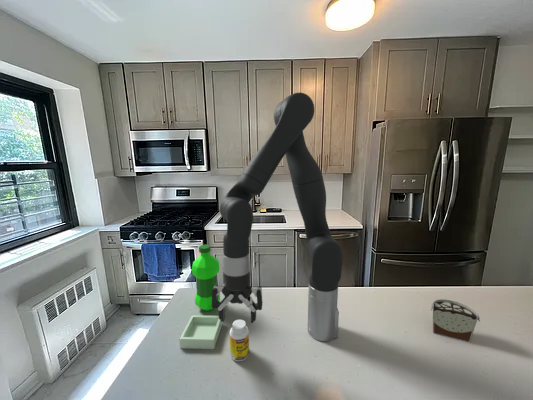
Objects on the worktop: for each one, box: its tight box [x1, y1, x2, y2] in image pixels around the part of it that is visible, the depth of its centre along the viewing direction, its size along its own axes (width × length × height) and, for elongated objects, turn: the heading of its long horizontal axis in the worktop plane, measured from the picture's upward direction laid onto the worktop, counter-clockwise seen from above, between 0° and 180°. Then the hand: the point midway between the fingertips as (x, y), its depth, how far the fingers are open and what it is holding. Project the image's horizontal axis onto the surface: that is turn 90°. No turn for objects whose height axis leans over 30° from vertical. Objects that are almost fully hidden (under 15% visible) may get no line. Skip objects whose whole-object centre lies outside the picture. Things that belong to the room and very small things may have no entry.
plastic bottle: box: [191, 243, 221, 312], centre depth 88 cm, size 10×10×25 cm
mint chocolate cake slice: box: [430, 298, 481, 344], centre depth 75 cm, size 12×6×10 cm, turn 65°
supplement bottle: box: [229, 319, 250, 362], centre depth 67 cm, size 6×6×10 cm
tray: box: [179, 314, 223, 350], centre depth 75 cm, size 11×11×3 cm
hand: (237, 320), depth 66 cm, fingers open, 8 cm apart
